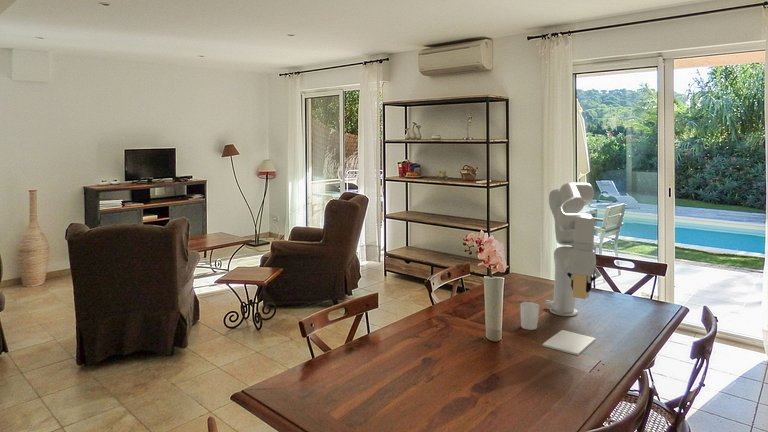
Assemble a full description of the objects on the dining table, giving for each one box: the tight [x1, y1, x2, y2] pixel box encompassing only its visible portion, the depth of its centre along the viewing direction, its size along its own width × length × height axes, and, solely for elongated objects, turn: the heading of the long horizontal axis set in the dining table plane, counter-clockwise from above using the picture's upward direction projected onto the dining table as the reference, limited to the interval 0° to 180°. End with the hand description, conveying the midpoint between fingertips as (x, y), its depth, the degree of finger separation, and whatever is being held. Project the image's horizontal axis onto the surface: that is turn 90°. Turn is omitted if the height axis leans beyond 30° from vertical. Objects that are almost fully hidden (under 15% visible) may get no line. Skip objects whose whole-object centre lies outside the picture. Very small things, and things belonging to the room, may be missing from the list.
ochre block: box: [572, 274, 590, 300], centre depth 209 cm, size 5×5×12 cm
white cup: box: [520, 301, 540, 331], centre depth 222 cm, size 8×8×10 cm
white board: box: [542, 329, 597, 356], centre depth 206 cm, size 14×20×1 cm
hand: (581, 290), depth 209 cm, fingers closed on ochre block, 5 cm apart
